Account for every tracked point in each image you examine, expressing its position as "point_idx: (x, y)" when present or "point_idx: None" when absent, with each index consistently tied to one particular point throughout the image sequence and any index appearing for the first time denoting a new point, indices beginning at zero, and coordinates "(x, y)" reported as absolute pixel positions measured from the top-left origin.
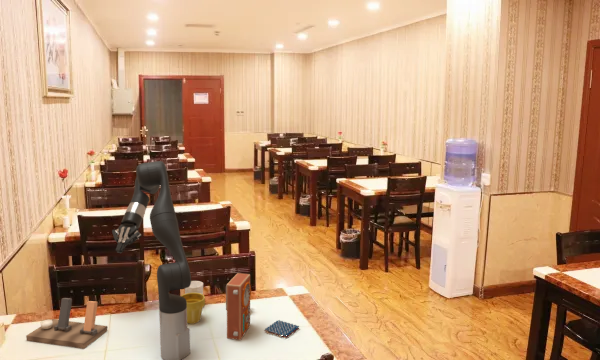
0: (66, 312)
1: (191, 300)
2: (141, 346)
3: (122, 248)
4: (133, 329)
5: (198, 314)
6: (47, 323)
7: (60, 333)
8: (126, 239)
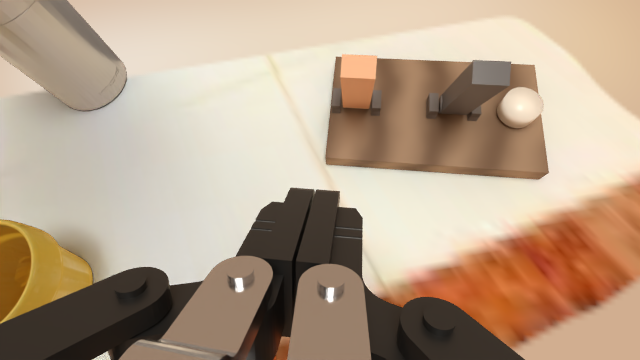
0: (456, 79)
1: None
2: (189, 101)
3: (257, 217)
4: (248, 187)
5: (10, 263)
6: (511, 94)
7: (442, 91)
8: (177, 342)
